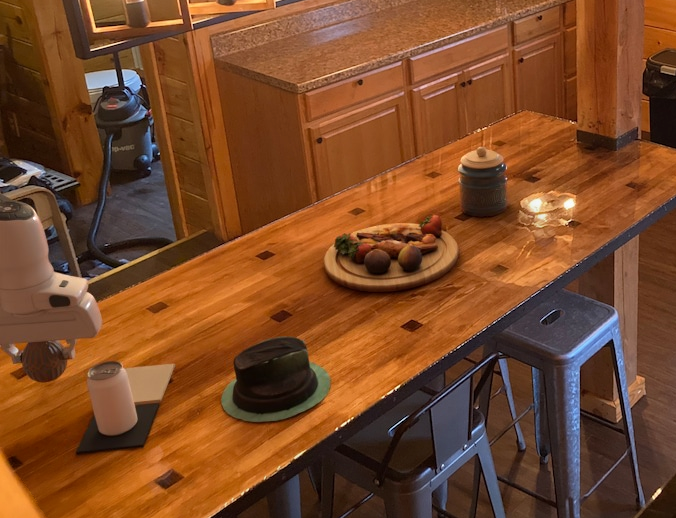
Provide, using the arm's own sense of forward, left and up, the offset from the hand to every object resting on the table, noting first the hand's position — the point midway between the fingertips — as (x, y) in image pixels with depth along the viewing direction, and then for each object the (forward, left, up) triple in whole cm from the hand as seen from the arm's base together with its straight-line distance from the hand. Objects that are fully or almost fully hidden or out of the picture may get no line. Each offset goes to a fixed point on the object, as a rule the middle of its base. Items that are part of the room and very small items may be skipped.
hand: (45, 359), depth 168 cm
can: (+11, -4, -13) cm, 17 cm away
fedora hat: (+37, +3, -14) cm, 40 cm away
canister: (+82, +78, -14) cm, 114 cm away
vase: (0, 0, -4) cm, 4 cm away
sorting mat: (+11, +2, -14) cm, 18 cm away
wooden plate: (+58, +52, -14) cm, 79 cm away
